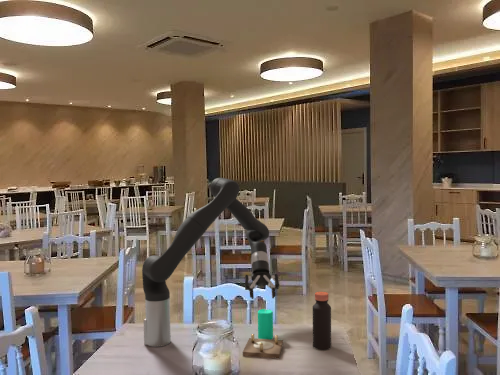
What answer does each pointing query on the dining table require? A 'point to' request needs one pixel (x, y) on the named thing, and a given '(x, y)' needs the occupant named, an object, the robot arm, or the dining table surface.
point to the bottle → (321, 322)
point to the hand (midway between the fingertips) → (263, 297)
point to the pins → (262, 343)
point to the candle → (265, 324)
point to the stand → (268, 348)
